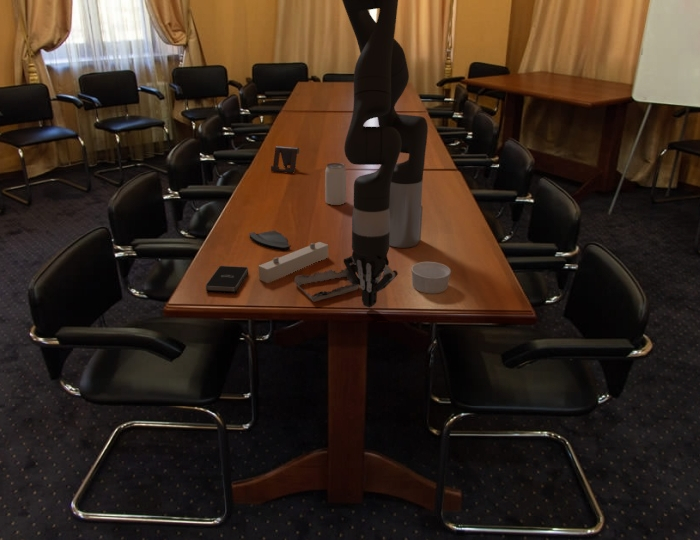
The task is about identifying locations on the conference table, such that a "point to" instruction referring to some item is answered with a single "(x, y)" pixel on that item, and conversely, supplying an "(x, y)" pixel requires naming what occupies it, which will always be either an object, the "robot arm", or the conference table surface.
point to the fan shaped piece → (271, 240)
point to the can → (335, 184)
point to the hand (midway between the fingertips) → (368, 305)
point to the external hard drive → (227, 280)
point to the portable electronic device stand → (285, 159)
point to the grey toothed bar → (292, 262)
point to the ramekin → (430, 277)
